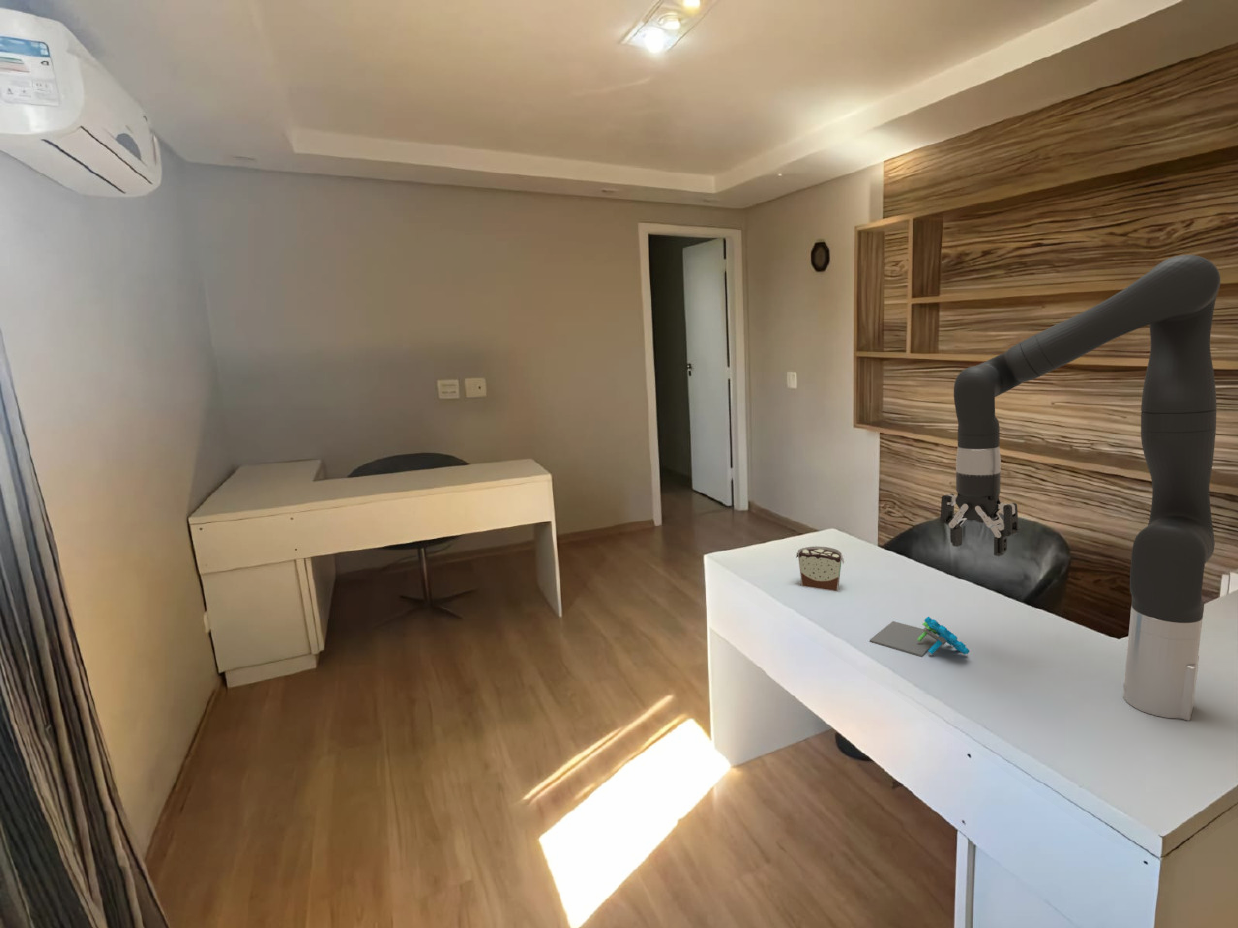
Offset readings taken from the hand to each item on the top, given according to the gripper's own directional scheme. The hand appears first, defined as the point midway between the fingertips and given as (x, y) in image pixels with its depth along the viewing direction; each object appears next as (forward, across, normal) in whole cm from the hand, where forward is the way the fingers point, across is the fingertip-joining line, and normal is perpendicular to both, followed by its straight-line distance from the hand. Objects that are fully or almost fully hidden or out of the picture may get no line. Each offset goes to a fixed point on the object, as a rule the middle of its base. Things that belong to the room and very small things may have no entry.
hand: (977, 550), depth 127 cm
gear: (+24, +5, +1) cm, 24 cm away
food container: (+22, +46, -5) cm, 51 cm away
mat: (+22, +13, +4) cm, 26 cm away
